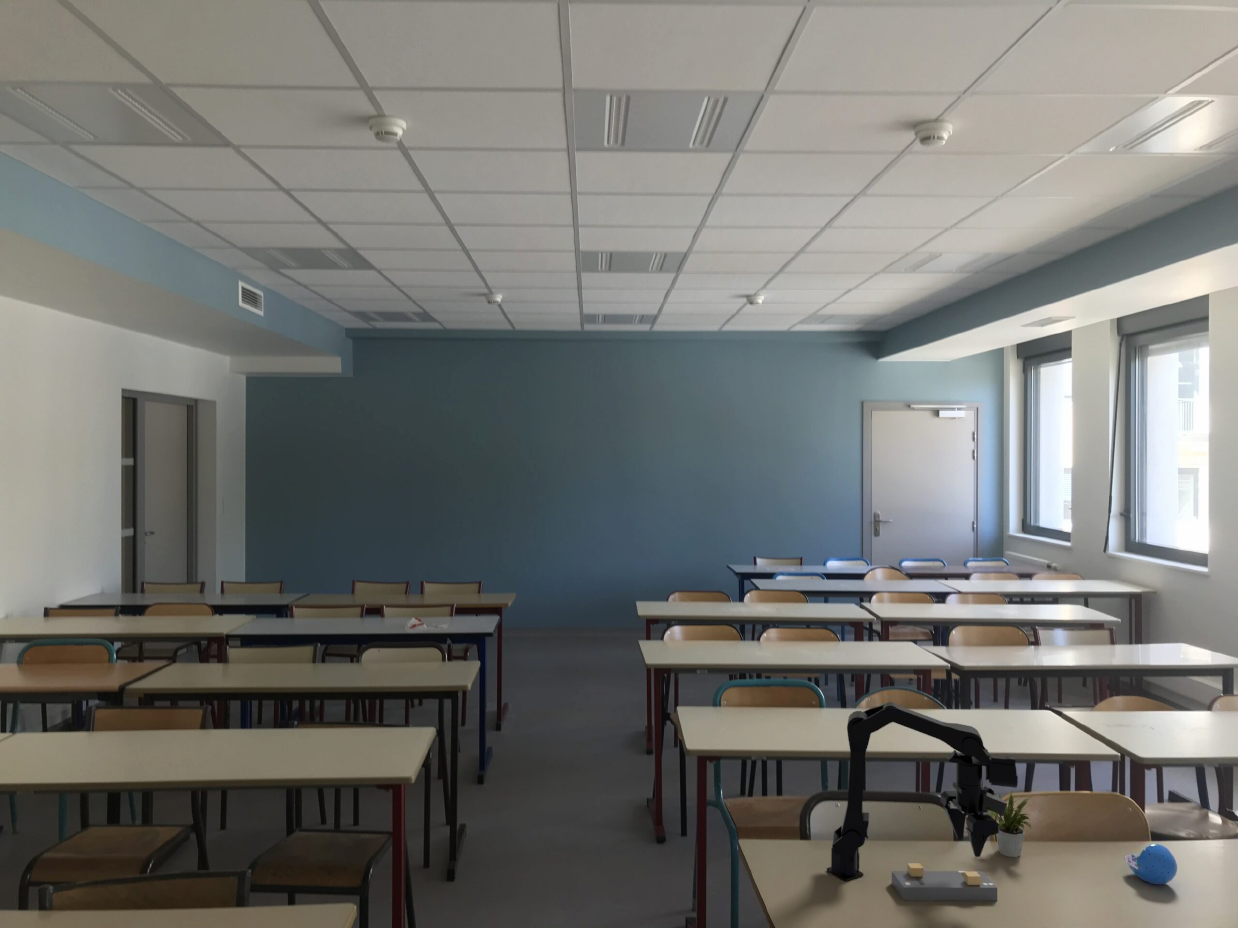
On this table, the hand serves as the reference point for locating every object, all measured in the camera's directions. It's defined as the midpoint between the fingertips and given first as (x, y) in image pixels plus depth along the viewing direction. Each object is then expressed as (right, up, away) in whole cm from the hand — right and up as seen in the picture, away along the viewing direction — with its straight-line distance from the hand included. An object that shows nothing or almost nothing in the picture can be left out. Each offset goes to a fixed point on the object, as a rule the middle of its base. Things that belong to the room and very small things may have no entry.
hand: (968, 847), depth 193 cm
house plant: (+19, -12, +21) cm, 30 cm away
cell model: (+48, -12, +7) cm, 50 cm away
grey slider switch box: (-6, -11, 0) cm, 12 cm away
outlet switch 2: (0, -7, -2) cm, 8 cm away
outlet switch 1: (-12, -7, +2) cm, 14 cm away
